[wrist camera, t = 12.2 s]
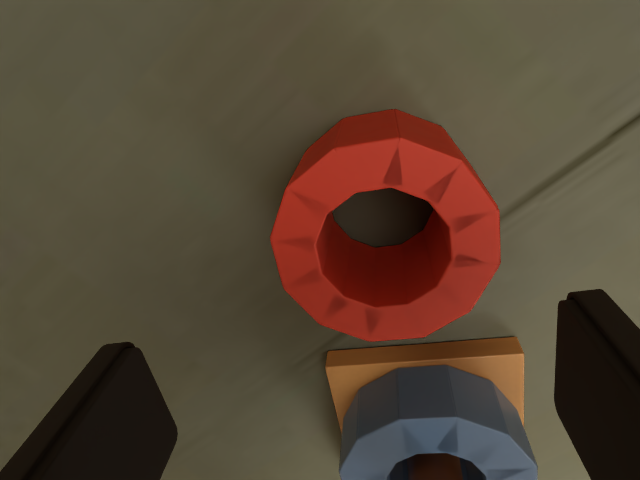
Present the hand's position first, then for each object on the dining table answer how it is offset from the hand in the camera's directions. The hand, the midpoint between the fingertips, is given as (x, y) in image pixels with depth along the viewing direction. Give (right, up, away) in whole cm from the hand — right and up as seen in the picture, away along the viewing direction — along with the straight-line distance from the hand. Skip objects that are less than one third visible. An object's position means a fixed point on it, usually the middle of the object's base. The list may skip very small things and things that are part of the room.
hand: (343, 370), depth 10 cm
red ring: (+2, +5, +8) cm, 10 cm away
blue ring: (+5, -7, +12) cm, 15 cm away
